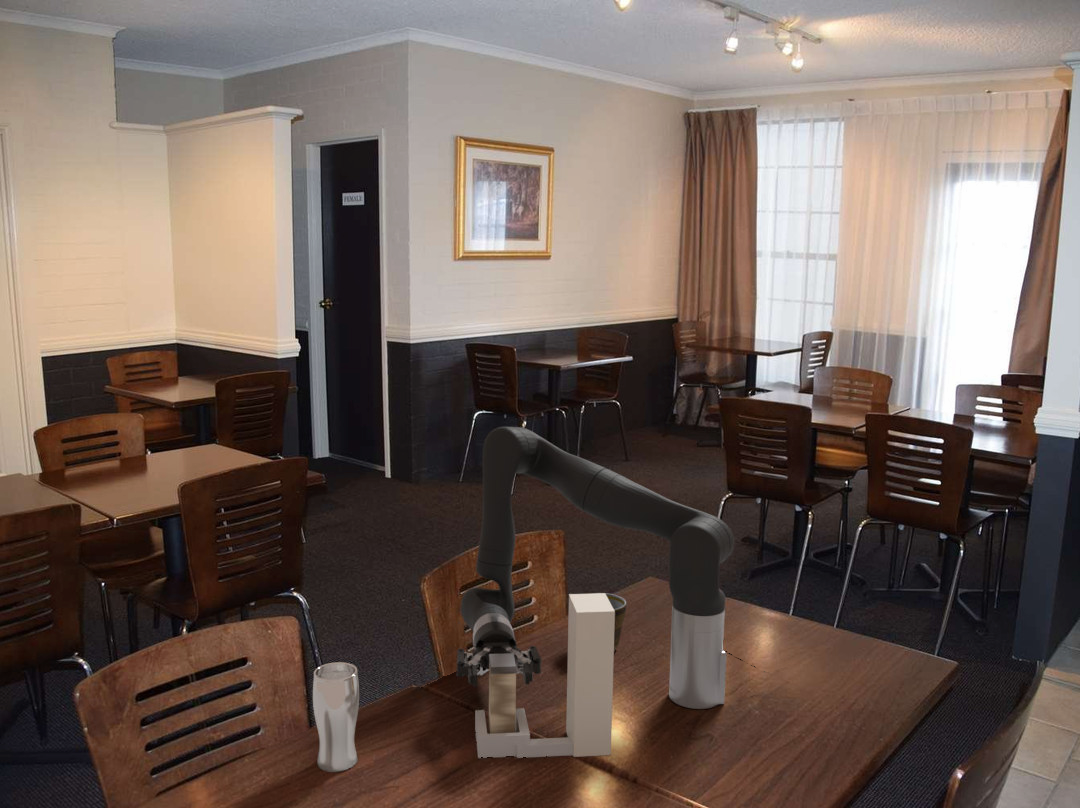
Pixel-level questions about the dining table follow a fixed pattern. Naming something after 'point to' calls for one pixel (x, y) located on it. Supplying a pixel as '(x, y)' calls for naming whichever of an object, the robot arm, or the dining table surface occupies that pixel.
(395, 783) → the dining table surface
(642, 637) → the dining table surface
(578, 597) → the white socket stand
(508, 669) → the rail end
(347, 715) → the beer glass
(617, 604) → the ceramic cup
